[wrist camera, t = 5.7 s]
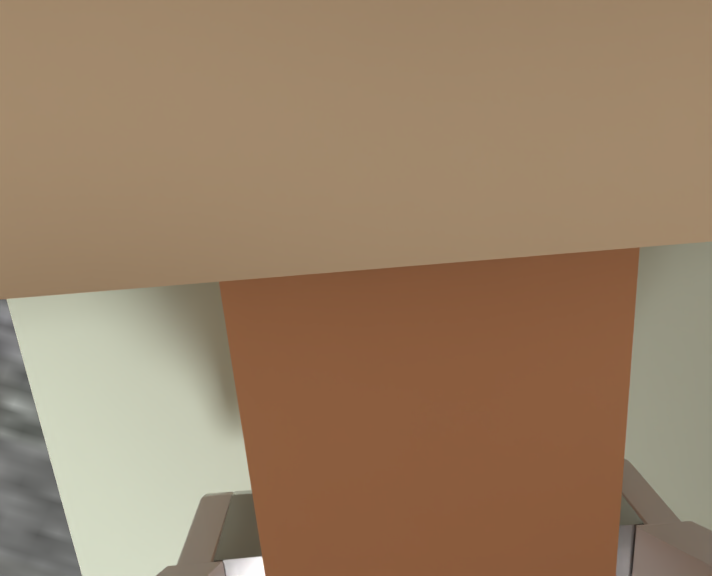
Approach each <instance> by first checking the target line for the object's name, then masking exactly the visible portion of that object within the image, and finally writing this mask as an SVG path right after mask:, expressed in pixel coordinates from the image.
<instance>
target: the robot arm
mask: <svg viewBox="0 0 712 576" xmlns="http://www.w3.org/2000/svg"><path fill="white" fill-rule="evenodd" d="M156 576H265V571H264V565H263V559H262V552H261V546H260V540H259V533H258V527H257V521H256V514H255V508H254V502H253V495H252V490H246V491H235V492H232V491H231V492H219V493H207V494H205V495H204V496H203V497H202V498H201V499H200V502H199V504H198V507H197V510H196V513H195V515H194V518H193V521H192V524H191V526H190V529H189V532H188V535H187V537H186V540H185V543H184V545H183V548H182V551H181V554H180V556H179V559H178V562H177V565H173V566H167V567H166V568H164V569H163V570H162V571H161V572H160V573H158V574H157V575H156ZM616 576H712V531H711V530H709V529H707V528H705V527H703V526H701V525H699V524H696V523H694V522H692V521H683V522H681V521H680V519H679V518H678V517H677V516H676V515H675V514H674V512H673V511H672V510H671V509H670V508H669V507H668V505H667V504H666V503H665V502H664V501H663V500H662V498H661V497H660V496H659V495H658V494H657V493H656V492H655V490H654V489H653V488H652V487H651V486H650V485H649V483H648V482H647V481H646V480H645V479H644V478H643V476H642V475H641V474H640V473H639V472H638V471H637V469H636V468H635V467H634V466H633V465H632V464H631V462H630V461H629V460H627V459H625V458H624V469H623V483H622V496H621V510H620V524H619V537H618V551H617V565H616Z"/></svg>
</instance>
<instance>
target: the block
mask: <svg viewBox="0 0 712 576" xmlns="http://www.w3.org/2000/svg"><path fill="white" fill-rule="evenodd" d="M700 242H712V0H0V299H13V298H25V297H37V296H50V295H62V294H74V293H86V292H99V291H111V290H123V289H135V288H148V287H160V286H172V285H184V284H197V283H209V282H221V281H234V280H246V279H258V278H270V277H283V276H295V275H307V274H319V273H332V272H344V271H356V270H368V269H381V268H393V267H405V266H418V265H430V264H442V263H454V262H467V261H479V260H491V259H503V258H516V257H528V256H540V255H552V254H565V253H577V252H589V251H602V250H614V249H626V248H638V247H651V246H663V245H675V244H687V243H700Z"/></svg>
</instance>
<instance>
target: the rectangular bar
mask: <svg viewBox="0 0 712 576" xmlns="http://www.w3.org/2000/svg"><path fill="white" fill-rule="evenodd" d="M639 250H640V247H638V248H626V249H614V250H602V251H589V252H577V253H565V254H552V255H540V256H528V257H516V258H503V259H491V260H479V261H467V262H454V263H442V264H430V265H418V266H405V267H393V268H381V269H368V270H356V271H344V272H332V273H319V274H307V275H295V276H283V277H270V278H258V279H246V280H234V281H221V282H219V286H220V292H221V298H222V305H223V311H224V317H225V324H226V330H227V337H228V343H229V349H230V356H231V362H232V368H233V375H234V381H235V387H236V394H237V400H238V406H239V413H240V419H241V425H242V432H243V438H244V444H245V451H246V457H247V464H248V470H249V476H250V483H251V489H252V495H253V502H254V508H255V514H256V521H257V527H258V533H259V540H260V546H261V552H262V559H263V565H264V571H265V576H616V565H617V551H618V537H619V524H620V510H621V496H622V483H623V469H624V455H625V442H626V428H627V414H628V401H629V387H630V373H631V360H632V346H633V332H634V319H635V305H636V291H637V278H638V264H639Z"/></svg>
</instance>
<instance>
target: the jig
mask: <svg viewBox="0 0 712 576" xmlns="http://www.w3.org/2000/svg"><path fill="white" fill-rule="evenodd" d="M7 303H8V306H9V310H10V314H11V317H12V321H13V325H14V328H15V332H16V336H17V339H18V343H19V347H20V350H21V354H22V358H23V361H24V365H25V369H26V372H27V376H28V380H29V383H30V387H31V391H32V394H33V398H34V402H35V405H36V409H37V412H38V416H39V420H40V423H41V427H42V431H43V434H44V438H45V442H46V445H47V449H48V453H49V456H50V460H51V464H52V467H53V471H54V475H55V478H56V482H57V486H58V489H59V493H60V497H61V500H62V504H63V508H64V511H65V515H66V518H67V522H68V526H69V529H70V533H71V537H72V540H73V544H74V548H75V551H76V555H77V559H78V562H79V566H80V570H81V573H82V576H156V575H157V574H158V573H160V572H161V571H162V570H163V569H164V568H166V567H167V566H173V565H177V562H178V559H179V556H180V554H181V551H182V548H183V545H184V543H185V540H186V537H187V535H188V532H189V529H190V526H191V524H192V521H193V518H194V515H195V513H196V510H197V507H198V504H199V502H200V499H201V498H202V497H203V496H204V495H205V494H207V493H219V492H231V491H232V492H235V491H246V490H252V489H251V483H250V476H249V470H248V464H247V457H246V451H245V444H244V438H243V432H242V425H241V419H240V413H239V406H238V400H237V394H236V387H235V381H234V375H233V368H232V362H231V356H230V349H229V343H228V337H227V330H226V324H225V317H224V311H223V305H222V298H221V292H220V286H219V282H209V283H197V284H184V285H172V286H160V287H148V288H135V289H123V290H111V291H99V292H86V293H74V294H62V295H50V296H37V297H25V298H13V299H7ZM624 458H625V459H627V460H629V461H630V462H631V464H632V465H633V466H634V467H635V468H636V469H637V471H638V472H639V473H640V474H641V475H642V476H643V478H644V479H645V480H646V481H647V482H648V483H649V485H650V486H651V487H652V488H653V489H654V490H655V492H656V493H657V494H658V495H659V496H660V497H661V498H662V500H663V501H664V502H665V503H666V504H667V505H668V507H669V508H670V509H671V510H672V511H673V512H674V514H675V515H676V516H677V517H678V518H679V519H680V521H681V522H683V521H692V522H694V523H696V524H699V525H701V526H703V527H705V528H707V529H709V530H711V531H712V242H700V243H687V244H675V245H663V246H651V247H640V250H639V264H638V278H637V291H636V305H635V319H634V332H633V346H632V360H631V373H630V387H629V401H628V414H627V428H626V442H625V455H624Z"/></svg>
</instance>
